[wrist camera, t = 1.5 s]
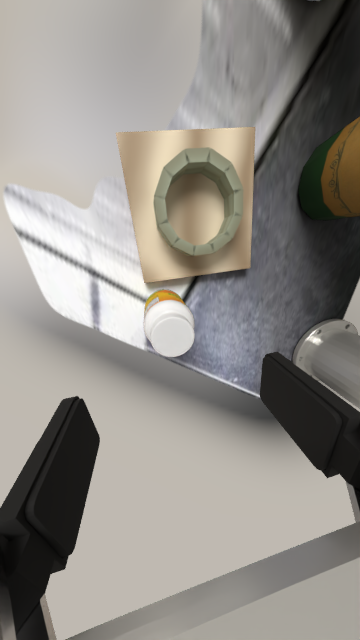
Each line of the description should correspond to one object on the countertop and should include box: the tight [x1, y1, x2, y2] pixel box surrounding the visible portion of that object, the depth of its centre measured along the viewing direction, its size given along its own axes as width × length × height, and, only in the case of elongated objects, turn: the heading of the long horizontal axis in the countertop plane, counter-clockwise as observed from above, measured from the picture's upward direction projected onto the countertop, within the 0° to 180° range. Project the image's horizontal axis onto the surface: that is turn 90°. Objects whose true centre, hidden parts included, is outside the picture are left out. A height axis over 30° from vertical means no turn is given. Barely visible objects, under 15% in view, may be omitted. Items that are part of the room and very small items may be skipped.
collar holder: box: [116, 127, 255, 283], centre depth 19 cm, size 14×14×4 cm
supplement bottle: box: [144, 289, 194, 357], centre depth 20 cm, size 5×5×10 cm
